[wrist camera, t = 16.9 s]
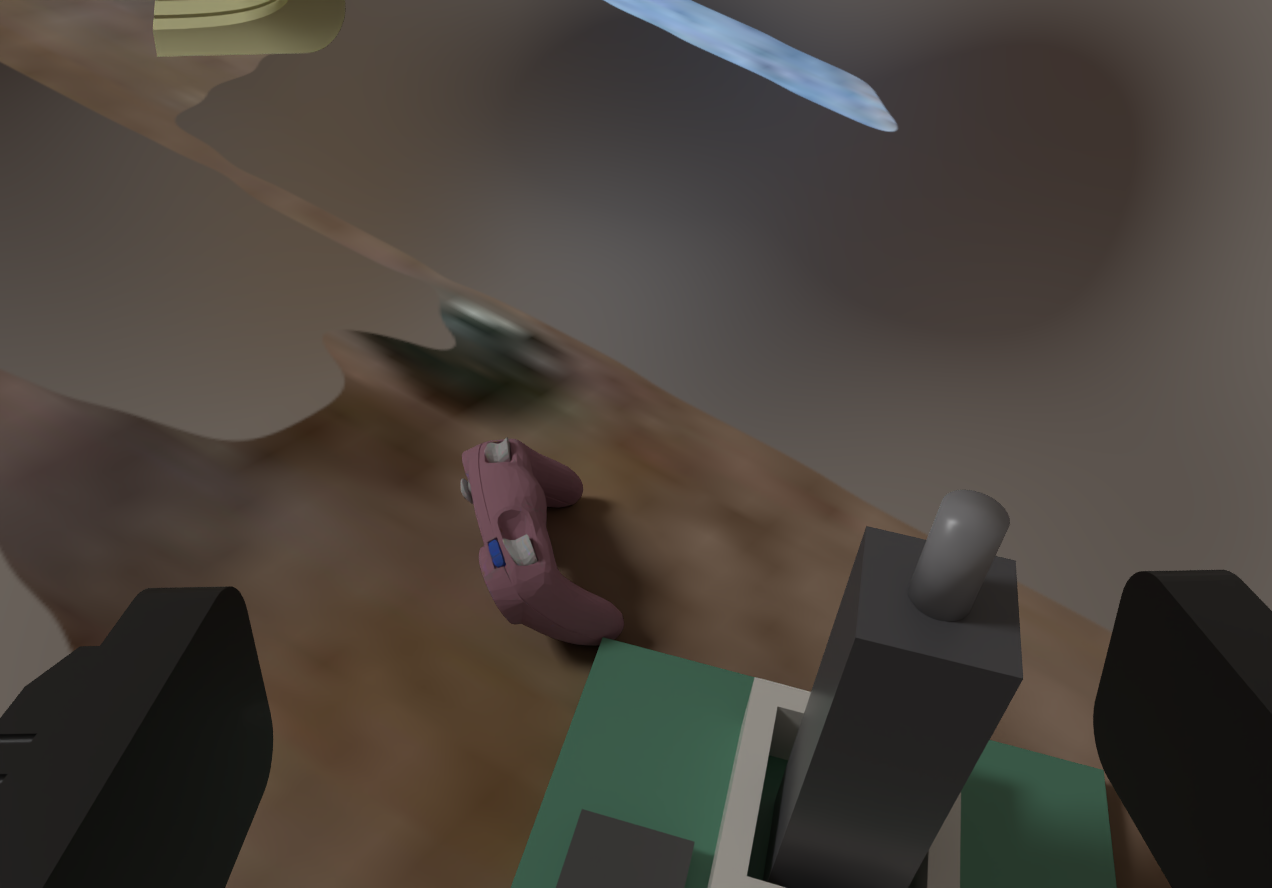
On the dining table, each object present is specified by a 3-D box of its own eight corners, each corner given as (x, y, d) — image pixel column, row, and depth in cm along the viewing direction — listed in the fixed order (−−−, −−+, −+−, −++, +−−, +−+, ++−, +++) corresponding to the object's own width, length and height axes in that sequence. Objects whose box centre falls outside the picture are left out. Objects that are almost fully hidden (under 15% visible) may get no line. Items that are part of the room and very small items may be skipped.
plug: (759, 905, 34) (886, 551, 23) (778, 780, 37) (895, 423, 26) (879, 939, 33) (1069, 595, 22) (886, 809, 37) (1053, 457, 26)
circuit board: (477, 994, 32) (474, 937, 29) (600, 652, 42) (607, 588, 40) (1136, 1207, 29) (1199, 1165, 26) (1093, 784, 39) (1135, 724, 37)
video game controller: (503, 522, 50) (432, 430, 45) (586, 483, 49) (525, 386, 44) (538, 687, 42) (459, 599, 38) (636, 643, 42) (569, 548, 37)
